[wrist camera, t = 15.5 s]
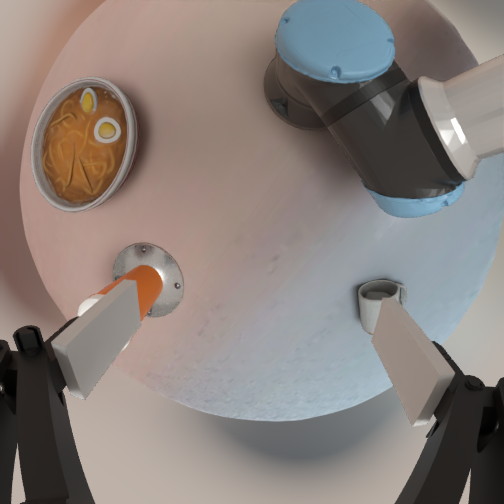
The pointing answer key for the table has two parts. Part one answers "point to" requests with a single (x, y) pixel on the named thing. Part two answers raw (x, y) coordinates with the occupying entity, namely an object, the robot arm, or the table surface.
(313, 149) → the table surface
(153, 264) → the flange
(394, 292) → the ceramic mug
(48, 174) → the bowl
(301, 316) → the table surface
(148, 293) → the shaker bottle
